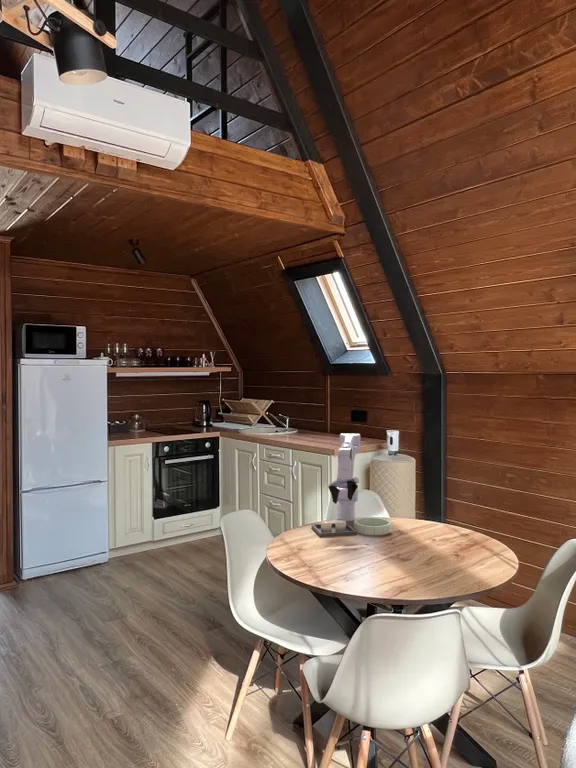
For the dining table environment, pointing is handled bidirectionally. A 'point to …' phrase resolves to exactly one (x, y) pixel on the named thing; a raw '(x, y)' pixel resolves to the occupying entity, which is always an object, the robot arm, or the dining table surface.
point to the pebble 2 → (340, 526)
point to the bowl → (372, 526)
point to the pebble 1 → (326, 526)
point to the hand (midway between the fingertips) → (342, 500)
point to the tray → (333, 531)
